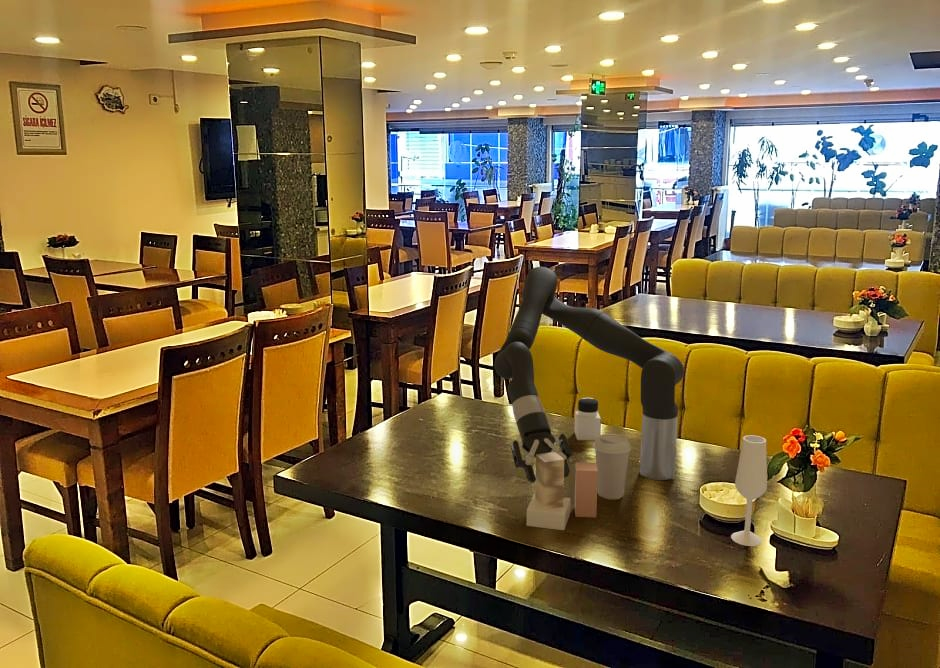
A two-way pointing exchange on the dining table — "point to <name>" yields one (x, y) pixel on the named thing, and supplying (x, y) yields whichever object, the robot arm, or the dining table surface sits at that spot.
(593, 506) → the terracotta pillar
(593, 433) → the medicine bottle
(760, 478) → the champagne flute
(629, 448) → the coffee cup
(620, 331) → the robot arm
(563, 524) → the plinth
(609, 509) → the dining table surface
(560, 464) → the maple pillar
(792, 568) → the dining table surface
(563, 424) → the dining table surface
